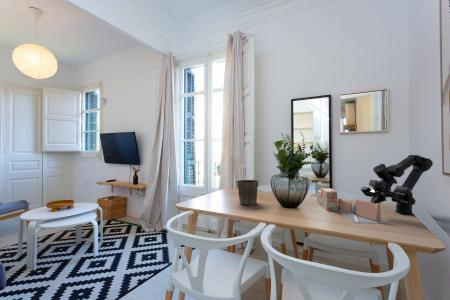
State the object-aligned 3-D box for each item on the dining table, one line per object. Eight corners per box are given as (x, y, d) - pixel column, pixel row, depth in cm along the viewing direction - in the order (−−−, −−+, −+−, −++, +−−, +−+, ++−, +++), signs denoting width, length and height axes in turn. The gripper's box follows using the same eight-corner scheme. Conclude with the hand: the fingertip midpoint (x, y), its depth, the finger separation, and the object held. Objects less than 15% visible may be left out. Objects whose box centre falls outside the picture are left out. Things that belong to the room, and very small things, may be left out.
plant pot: (231, 203, 157) (231, 181, 157) (246, 199, 168) (246, 179, 168) (249, 207, 145) (248, 183, 145) (263, 203, 156) (263, 181, 156)
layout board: (361, 210, 135) (361, 209, 135) (386, 223, 111) (386, 222, 111) (336, 209, 137) (336, 209, 137) (354, 222, 112) (354, 222, 112)
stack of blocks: (316, 203, 156) (316, 185, 156) (326, 203, 155) (325, 186, 155) (327, 211, 134) (326, 191, 134) (337, 211, 134) (337, 191, 134)
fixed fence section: (352, 213, 129) (352, 201, 129) (349, 213, 128) (349, 201, 128) (339, 209, 137) (339, 198, 137) (337, 209, 137) (337, 198, 137)
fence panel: (350, 213, 127) (350, 197, 127) (354, 212, 128) (354, 197, 128) (378, 221, 111) (377, 204, 111) (382, 221, 112) (381, 203, 112)
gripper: (362, 173, 130) (348, 192, 126) (395, 176, 112) (380, 199, 109) (372, 185, 132) (359, 205, 129) (406, 190, 115) (391, 213, 111)
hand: (371, 205), depth 119 cm, fingers closed
